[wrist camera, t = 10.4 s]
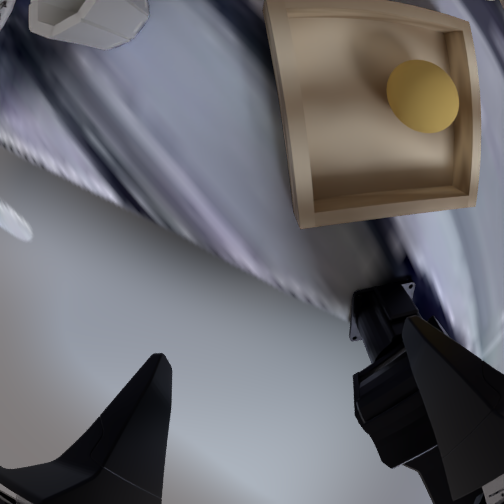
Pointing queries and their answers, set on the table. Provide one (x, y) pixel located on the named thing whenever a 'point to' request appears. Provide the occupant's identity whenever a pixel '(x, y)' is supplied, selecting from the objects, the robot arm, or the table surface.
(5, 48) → the table surface
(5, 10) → the decorative candle
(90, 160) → the table surface
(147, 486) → the robot arm
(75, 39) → the cup
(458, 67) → the tray
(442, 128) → the ball
